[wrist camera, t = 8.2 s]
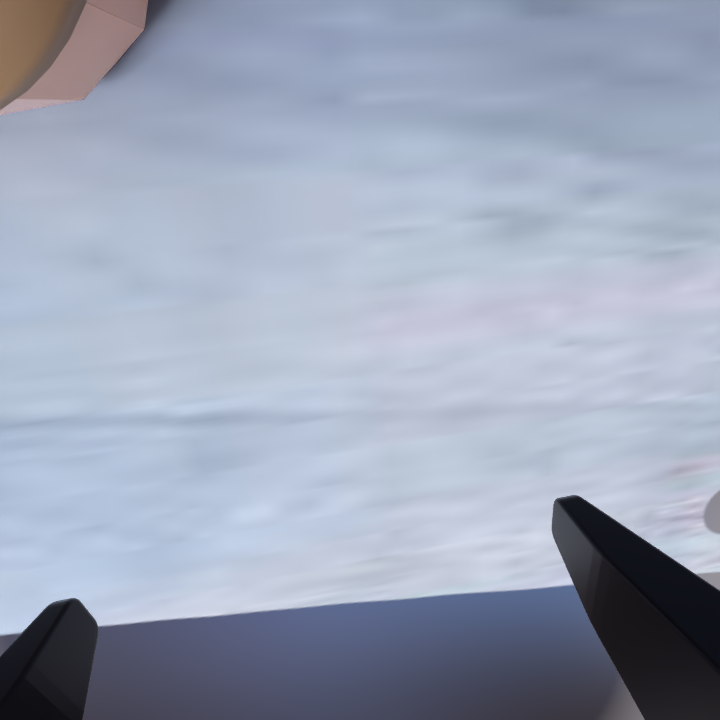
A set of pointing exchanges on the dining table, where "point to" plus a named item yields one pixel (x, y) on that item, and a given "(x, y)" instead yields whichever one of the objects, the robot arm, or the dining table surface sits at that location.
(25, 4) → the lid
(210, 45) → the dining table surface
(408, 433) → the dining table surface
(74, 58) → the bowl
